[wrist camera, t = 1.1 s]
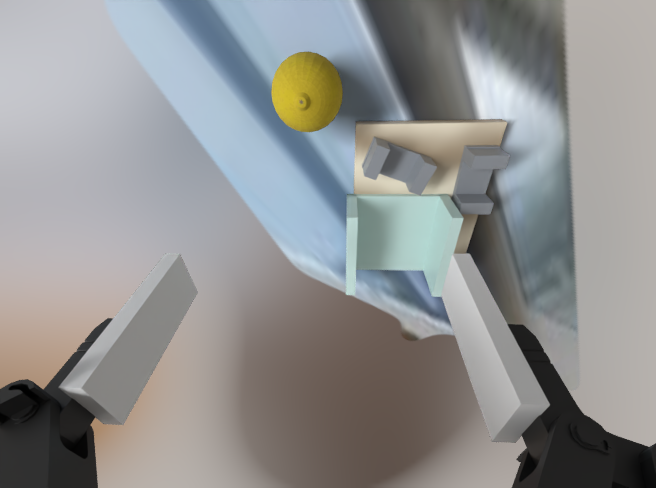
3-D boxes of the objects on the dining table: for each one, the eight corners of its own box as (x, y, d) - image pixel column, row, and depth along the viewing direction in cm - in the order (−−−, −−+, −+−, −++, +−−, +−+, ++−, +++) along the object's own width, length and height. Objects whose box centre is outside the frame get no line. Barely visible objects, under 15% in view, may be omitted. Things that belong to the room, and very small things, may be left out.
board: (355, 121, 27) (356, 124, 26) (501, 119, 27) (507, 122, 26) (351, 260, 37) (352, 266, 36) (458, 261, 37) (461, 267, 36)
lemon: (355, 78, 25) (358, 91, 19) (320, 131, 28) (313, 158, 22) (302, 34, 24) (285, 32, 17) (271, 95, 27) (246, 113, 20)
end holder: (347, 193, 31) (347, 217, 27) (447, 193, 30) (463, 218, 26) (346, 266, 36) (346, 294, 32) (430, 267, 36) (441, 296, 32)
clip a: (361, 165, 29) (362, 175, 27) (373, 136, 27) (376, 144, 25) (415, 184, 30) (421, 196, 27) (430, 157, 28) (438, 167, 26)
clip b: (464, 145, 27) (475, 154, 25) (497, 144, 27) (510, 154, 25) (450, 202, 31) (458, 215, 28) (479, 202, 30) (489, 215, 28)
